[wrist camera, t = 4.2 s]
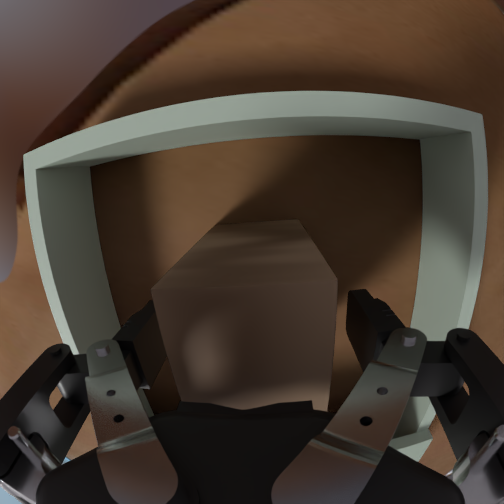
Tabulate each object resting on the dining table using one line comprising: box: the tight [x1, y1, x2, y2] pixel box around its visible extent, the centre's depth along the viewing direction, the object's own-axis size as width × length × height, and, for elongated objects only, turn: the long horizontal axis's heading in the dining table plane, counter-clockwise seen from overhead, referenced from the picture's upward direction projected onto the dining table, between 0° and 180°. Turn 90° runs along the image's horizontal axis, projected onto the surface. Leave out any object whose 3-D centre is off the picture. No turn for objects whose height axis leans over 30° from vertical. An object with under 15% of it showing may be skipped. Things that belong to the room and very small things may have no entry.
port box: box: [24, 91, 488, 462], centre depth 15 cm, size 22×34×6 cm, turn 5°
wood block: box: [151, 219, 338, 411], centre depth 12 cm, size 4×7×9 cm, turn 5°
